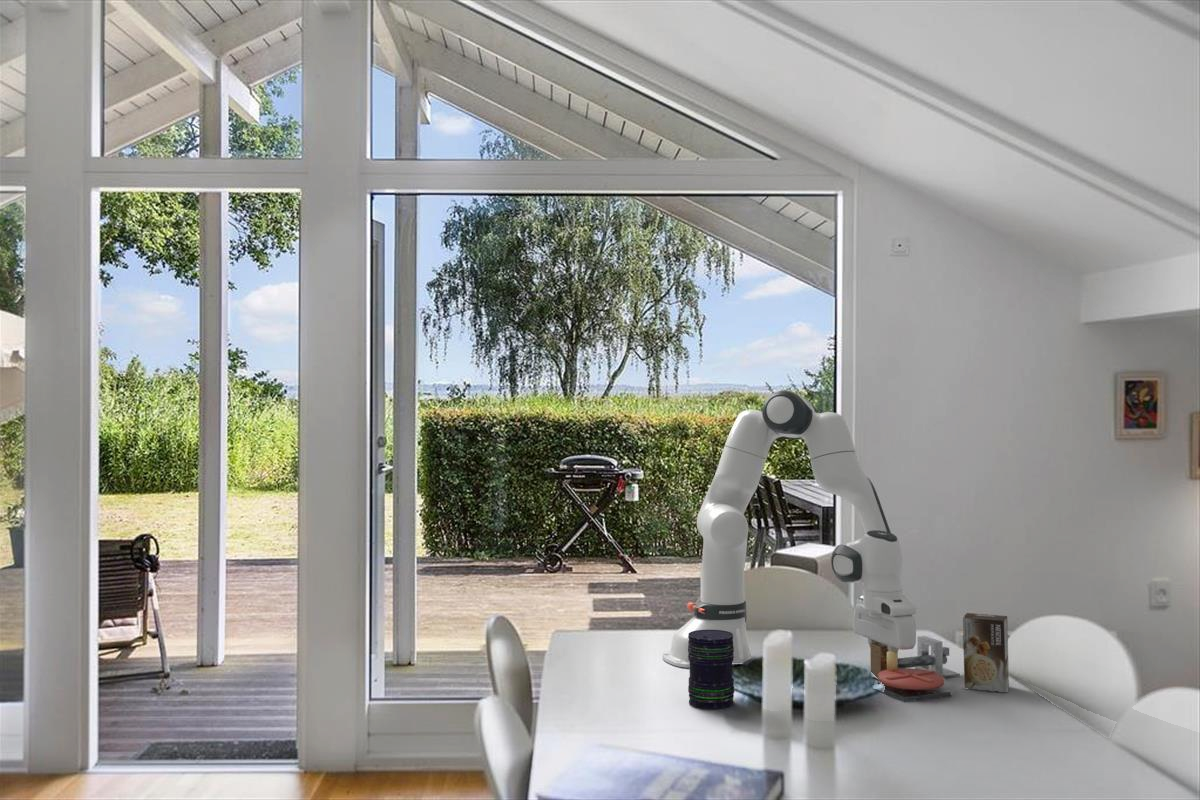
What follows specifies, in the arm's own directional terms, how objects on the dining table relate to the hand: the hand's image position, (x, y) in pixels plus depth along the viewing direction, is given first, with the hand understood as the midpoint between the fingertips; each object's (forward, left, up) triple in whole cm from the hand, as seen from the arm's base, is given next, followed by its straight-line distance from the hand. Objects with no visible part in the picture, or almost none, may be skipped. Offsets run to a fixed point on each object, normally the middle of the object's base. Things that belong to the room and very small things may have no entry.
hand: (883, 661), depth 253 cm
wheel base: (-1, -12, -4) cm, 13 cm away
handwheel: (-1, -12, -3) cm, 12 cm away
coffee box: (+17, -15, -4) cm, 23 cm away
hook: (+8, 0, -4) cm, 9 cm away
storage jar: (-46, -4, -4) cm, 46 cm away
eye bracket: (+15, 0, -4) cm, 15 cm away
